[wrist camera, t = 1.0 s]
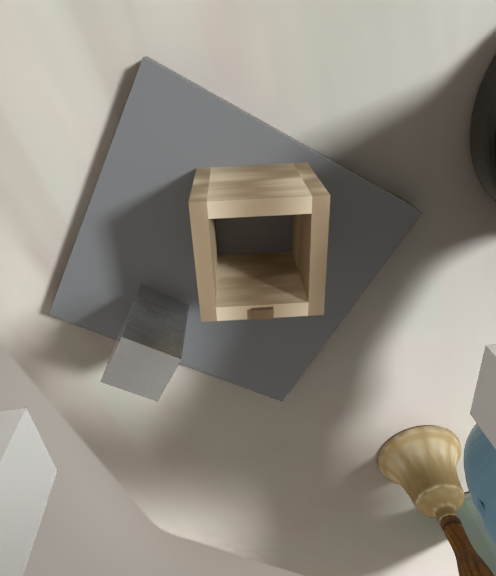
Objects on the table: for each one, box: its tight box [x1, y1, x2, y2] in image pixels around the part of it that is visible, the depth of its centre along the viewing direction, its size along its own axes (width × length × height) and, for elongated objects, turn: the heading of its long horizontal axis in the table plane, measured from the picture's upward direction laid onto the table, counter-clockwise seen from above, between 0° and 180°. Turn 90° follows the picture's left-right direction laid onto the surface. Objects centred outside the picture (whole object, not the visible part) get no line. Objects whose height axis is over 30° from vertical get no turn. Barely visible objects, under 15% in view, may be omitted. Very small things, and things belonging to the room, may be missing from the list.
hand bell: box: [378, 426, 495, 576], centre depth 37 cm, size 8×8×16 cm
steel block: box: [101, 285, 189, 401], centre depth 30 cm, size 4×4×8 cm
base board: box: [49, 57, 421, 401], centre depth 31 cm, size 20×19×2 cm
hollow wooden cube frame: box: [188, 163, 331, 322], centre depth 26 cm, size 7×7×7 cm
